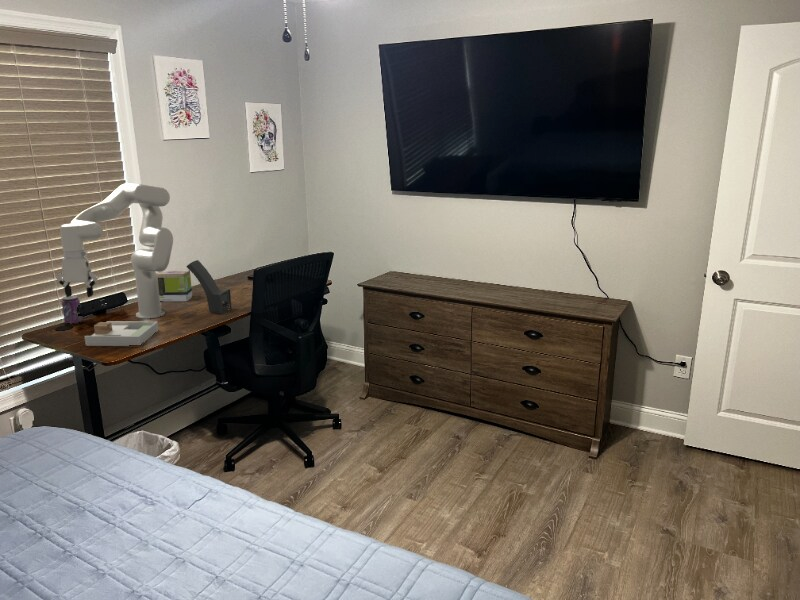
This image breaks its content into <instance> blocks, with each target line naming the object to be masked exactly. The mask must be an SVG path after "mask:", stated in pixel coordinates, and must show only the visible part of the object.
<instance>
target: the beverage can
mask: <svg viewBox="0 0 800 600" xmlns="http://www.w3.org/2000/svg"><path fill="white" fill-rule="evenodd" d="M61 299H62V301H61V305H62V314H63V319H64V323H65V324H67V323H70V324H69V325H73V324H72V323H77V324H79V323H78V322H80V323H81V322H83V315H82V316H78V315H77V314H76V313H77V307H78V305H80V306H81V302H80V298H79V296H78V295H75V294H74V295H73V294H72V295H71V296H69V297H66V295H65V296H63V297H62V298H61Z"/></svg>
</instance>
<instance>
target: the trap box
mask: <svg viewBox="0 0 800 600" xmlns="http://www.w3.org/2000/svg"><path fill="white" fill-rule="evenodd" d="M106 322H111V323H112V331H110V332H109V333H108V334H95V332H94V333H93V334H91V335H84V343H85V346H87V347H102V346H103V347H112V346H113V347H130V346H129V345H141V344H142V343H143V342H144V343H145V341H146V340H147V339H148V338H149V337H150V336H151V337H153V336H154V335H155V334H156V333H157V332H158V331H159V329H160V328H159V321H137V320H136V321H133V320H132V321H129V320H128V321H125V320H124V321H117V320H115V321H113V320H112V321H111V320H107V321H106ZM155 332H156V333H155ZM154 333H155V334H154ZM153 334H154V335H153ZM152 335H153V336H152ZM151 337H150V338H151ZM150 338H149V339H150ZM149 339H148V340H149ZM148 340H147V341H148ZM144 343H143V344H144ZM143 344H142V345H143ZM142 345H141V346H142Z"/></svg>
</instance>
